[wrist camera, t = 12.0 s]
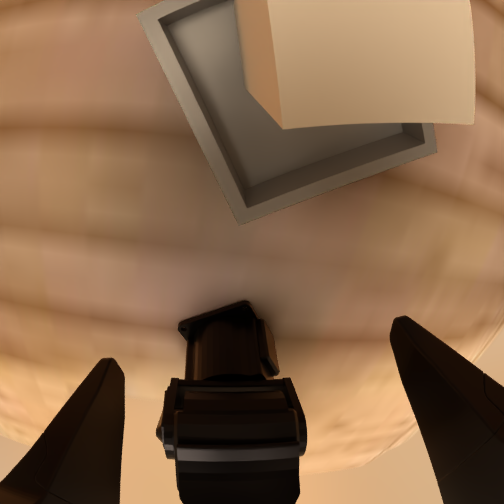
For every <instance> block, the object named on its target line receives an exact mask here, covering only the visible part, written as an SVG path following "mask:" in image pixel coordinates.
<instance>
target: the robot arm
mask: <svg viewBox="0 0 504 504" xmlns="http://www.w3.org/2000/svg"><path fill="white" fill-rule="evenodd" d="M243 307H246V308H243ZM182 327H185V328H182ZM178 331H179V332H180V333H181V335H182V336H183V337H184V338H185V339H186V341H187V351H186V366H185V380H183V379H179V378H171V383H170V386H168V388H167V390H166V391H165V397H164V407H163V411H162V414H161V417H160V420H159V423H158V425H157V428H156V436H157V437H158V438H159V440H160V441H161V442H162V443H163V447H164V449H165V454H166V457H167V459H175V466H176V480H177V488H178V491H179V496H180V500H181V501H182V503H183V504H295V503H296V501H297V499H298V497H299V495H300V483H299V456H303V455H304V453H305V451H306V446H307V426H306V420H305V415H304V412H303V409H302V407H301V404H300V402H299V399H298V396H297V394H296V391H295V388H294V386H293V383H292V381H291V378H283V379H274V377H273V376H277V375H278V374H279V372H280V371H279V366H278V360H277V354H276V349H275V343H274V338H273V335H272V334H271V332H270V330H269V328H268V326H267V325H266V323H265V321H264V320H263V319H259V318H258V316H257V314H256V313H255V311H254V309H253V307H252V306H251V304H250V303H249V302H248V301H242V302H239V303H236V304H233V305H230V306H228V307H225V308H222V309H219V310H216V311H213V312H210V313H207V314H204V315H201V316H198V317H195V318H192V319H189V320H186V321H183V322H181V323H179V324H178ZM390 343H391V346H392V350H393V353H394V356H395V360H396V363H397V367H398V371H399V374H400V378H401V381H402V384H403V386H404V389H405V391H406V394H407V397H408V399H409V402H410V404H411V407H412V410H413V412H414V415H415V418H416V420H417V423H418V426H419V429H420V431H421V434H422V437H423V440H424V443H425V445H426V448H427V451H428V454H429V457H430V460H431V463H432V467H433V470H434V473H435V476H436V479H437V481H438V486H439V489H440V493H441V496H442V500H443V503H444V504H504V387H503V386H502V385H500V384H499V383H497V382H496V381H495V380H493V379H492V378H491V377H489V376H488V375H487V374H485V373H484V374H483V371H481V370H480V369H479V368H477V367H476V366H475V365H473V364H472V363H471V362H469V361H468V360H467V359H465V358H464V357H463V356H461V355H460V354H459V353H457V352H456V351H455V350H453V349H452V348H451V347H449V346H448V345H447V344H445V343H444V342H443V341H441V340H440V339H438V338H437V337H436V336H434V335H433V334H432V333H430V332H429V331H427V330H426V329H425V328H423V327H422V326H420V325H419V324H418V323H416V322H415V321H414V320H412V319H411V318H409V317H408V316H400V317H396V318H395V319H394V320H393V324H392V328H391V331H390ZM124 420H125V377H124V373H123V371H122V370H121V368H120V367H119V365H118V364H117V362H116V360H115V359H114V358H102V359H101V360H100V361H99V362H98V363H97V364H96V366H95V367H94V368H93V369H92V371H91V372H90V373H89V374H88V376H87V377H86V378H85V379H84V381H83V382H82V383H81V384H80V386H79V387H78V388H77V389H76V391H75V392H74V393H73V394H72V396H71V397H70V398H69V400H68V401H67V402H66V403H65V405H64V406H63V407H62V408H61V410H60V411H59V412H58V414H57V415H56V416H55V418H54V419H53V420H52V421H51V423H50V424H49V425H48V427H47V428H46V429H45V431H44V433H42V435H41V436H40V437H39V439H38V440H37V441H36V442H35V444H34V445H33V446H32V448H31V449H30V450H29V451H28V452H27V454H26V455H25V456H24V457H23V458H22V459H21V460H20V462H19V463H18V464H17V465H16V466H15V467H14V468H13V469H12V471H11V472H10V473H9V474H8V475H7V476H6V477H5V478H4V479H3V480H2V481H1V482H0V504H120V478H121V460H122V444H123V432H124Z"/></svg>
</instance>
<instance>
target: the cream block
mask: <svg viewBox="0 0 504 504" xmlns="http://www.w3.org/2000/svg"><path fill="white" fill-rule="evenodd" d="M233 8H234V14H235V21H236V28H237V35H238V42H239V49H240V56H241V63H242V70H243V78H244V85H245V89H246V90H247V91H248V92H249V93H250V94H251V95H252V96H253V97H254V98H255V99H256V100H257V102H258V103H259V104H260V105H261V106H262V107H263V108H264V109H265V110H266V111H267V112H268V113H269V115H270V116H271V117H272V118H273V119H274V120H275V121H276V122H277V123H278V125H279V126H280V127H281V128H282V129H293V128H303V127H315V126H328V125H343V124H364V123H449V124H468V125H474V116H475V50H474V35H473V24H472V14H471V6H470V0H234V5H233Z"/></svg>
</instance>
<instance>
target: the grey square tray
mask: <svg viewBox="0 0 504 504" xmlns="http://www.w3.org/2000/svg"><path fill="white" fill-rule="evenodd" d="M233 5H234V0H164V1H162V2H160V3H158V4H156V5H154V6H151V7H149V8H148V9H146V10H144V11H142V12H140V13H138V14H136V16H137V18H138V20H139V22H140V24H141V26H142V28H143V30H144V32H145V34H146V36H147V38H148V40H149V42H150V44H151V46H152V48H153V50H154V53H155V55H156V57H157V59H158V61H159V63H160V65H161V67H162V69H163V71H164V73H165V75H166V77H167V79H168V81H169V83H170V85H171V87H172V89H173V92H174V94H175V96H176V98H177V100H178V102H179V104H180V106H181V108H182V110H183V112H184V114H185V116H186V118H187V120H188V122H189V124H190V126H191V128H192V131H193V133H194V135H195V137H196V139H197V141H198V143H199V145H200V147H201V149H202V151H203V153H204V155H205V157H206V159H207V161H208V163H209V165H210V167H211V170H212V172H213V174H214V176H215V178H216V180H217V182H218V184H219V186H220V188H221V190H222V192H223V194H224V196H225V198H226V200H227V202H228V204H229V206H230V208H231V211H232V213H233V215H234V217H235V219H236V221H237V223H238V225H239V226H240V225H243V224H245V223H248V222H250V221H253V220H255V219H258V218H260V217H263V216H266V215H268V214H271V213H273V212H276V211H278V210H281V209H284V208H286V207H289V206H291V205H294V204H297V203H299V202H302V201H304V200H307V199H310V198H312V197H315V196H318V195H320V194H323V193H326V192H328V191H331V190H334V189H336V188H339V187H342V186H344V185H347V184H350V183H353V182H355V181H358V180H361V179H364V178H366V177H369V176H372V175H375V174H377V173H380V172H383V171H386V170H388V169H391V168H394V167H397V166H400V165H402V164H405V163H408V162H411V161H414V160H417V159H420V158H422V157H425V156H428V155H431V154H434V153H437V145H436V139H435V132H434V126H433V123H364V124H343V125H328V126H315V127H303V128H293V129H282V128H281V127H280V126H279V125H278V123H277V122H276V121H275V120H274V119H273V118H272V117H271V116H270V115H269V113H268V112H267V111H266V110H265V109H264V108H263V107H262V106H261V105H260V104H259V103H258V102H257V100H256V99H255V98H254V97H253V96H252V95H251V94H250V93H249V92H248V91H247V90H246V89H245V85H244V78H243V70H242V63H241V56H240V49H239V42H238V35H237V28H236V21H235V14H234V8H233Z"/></svg>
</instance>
